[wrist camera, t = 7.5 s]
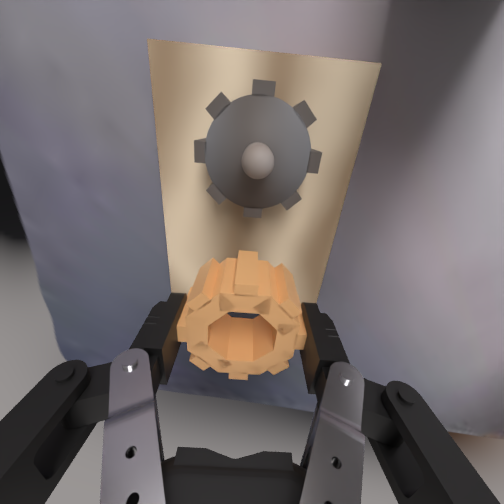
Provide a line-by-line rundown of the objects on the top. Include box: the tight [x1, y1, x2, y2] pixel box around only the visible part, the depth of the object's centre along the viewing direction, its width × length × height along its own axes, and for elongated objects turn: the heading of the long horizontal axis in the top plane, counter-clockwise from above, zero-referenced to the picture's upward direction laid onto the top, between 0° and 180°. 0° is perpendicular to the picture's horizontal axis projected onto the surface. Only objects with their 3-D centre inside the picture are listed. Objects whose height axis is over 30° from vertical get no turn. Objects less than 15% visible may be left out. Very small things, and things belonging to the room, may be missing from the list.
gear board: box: [147, 39, 382, 304], centre depth 14 cm, size 12×17×7 cm
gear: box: [177, 250, 307, 380], centre depth 12 cm, size 6×6×3 cm
